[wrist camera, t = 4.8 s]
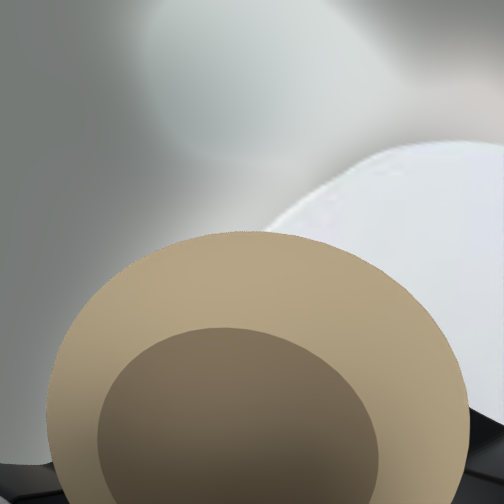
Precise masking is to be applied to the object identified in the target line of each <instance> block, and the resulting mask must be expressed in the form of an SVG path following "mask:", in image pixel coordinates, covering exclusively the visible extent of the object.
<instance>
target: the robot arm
mask: <svg viewBox="0 0 504 504" xmlns="http://www.w3.org/2000/svg"><path fill="white" fill-rule="evenodd" d="M469 414H470V433H469V447H468V453H467V458H466V463H465V467H464V472H463V475H462V477H461V480H460V483H459V486H458V488H457V491H456V493H455V496H454V498H453V500H452V502H451V504H504V425H502V424H500V423H498V422H496V421H494V420H492V419H490V418H488V417H486V416H484V415H482V414H481V413H479V412H477V411H475V410H473V409H471V408H470V407H469ZM0 504H70V503H69V501H68V499H67V497H66V495H65V493H64V491H63V489H62V486H61V484H60V482H59V479H58V476H57V473H56V470H55V467H54V464H53V462H50V463H48V464H43V465H16V464H2V463H0Z"/></svg>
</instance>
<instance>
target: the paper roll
mask: <svg viewBox="0 0 504 504" xmlns="http://www.w3.org/2000/svg"><path fill="white" fill-rule="evenodd" d="M46 418H47V434H48V441H49V446H50V452H51V456H52V461H53V464H54V467H55V470H56V473H57V476H58V479H59V482H60V484H61V486H62V489H63V491H64V493H65V495H66V497H67V499H68V501H69V503H70V504H451V502H452V500H453V498H454V496H455V493H456V491H457V488H458V486H459V483H460V480H461V477H462V475H463V472H464V467H465V463H466V458H467V453H468V447H469V433H470V414H469V405H468V398H467V391H466V387H465V383H464V380H463V377H462V373H461V370H460V367H459V364H458V361H457V359H456V357H455V355H454V353H453V351H452V349H451V347H450V345H449V343H448V341H447V339H446V337H445V335H444V334H443V332H442V331H441V330H440V328H439V327H438V325H437V324H436V322H435V321H434V320H433V318H432V317H431V316H430V314H429V313H428V311H427V310H426V309H425V308H424V307H423V306H422V305H421V304H420V303H419V302H418V301H417V300H416V299H415V298H414V297H413V296H412V295H411V294H410V293H409V292H408V291H407V290H406V289H405V288H404V287H402V286H401V285H400V284H399V283H397V282H396V281H395V280H393V279H392V278H391V277H389V276H388V275H387V274H385V273H384V272H383V271H381V270H380V269H378V268H376V267H375V266H373V265H371V264H369V263H367V262H366V261H364V260H362V259H360V258H359V257H357V256H355V255H353V254H350V253H348V252H346V251H343V250H341V249H338V248H336V247H333V246H331V245H328V244H326V243H322V242H318V241H314V240H310V239H307V238H303V237H299V236H295V235H287V234H279V233H272V232H228V233H219V234H211V235H205V236H201V237H197V238H193V239H189V240H185V241H181V242H178V243H175V244H173V245H170V246H168V247H165V248H162V249H160V250H157V251H155V252H153V253H151V254H149V255H147V256H145V257H143V258H142V259H140V260H138V261H136V262H134V263H132V264H131V265H130V266H128V267H127V268H125V269H124V270H123V271H121V272H120V273H118V274H117V275H115V276H114V277H113V278H112V279H111V280H109V281H108V282H107V283H106V284H105V285H104V286H103V287H102V288H101V289H100V290H99V291H97V292H96V293H95V294H94V296H93V297H92V298H91V299H90V300H89V302H88V303H87V304H86V305H85V306H84V308H83V309H82V310H81V311H80V313H79V314H78V316H77V317H76V319H75V320H74V322H73V323H72V325H71V327H70V328H69V330H68V332H67V334H66V336H65V338H64V340H63V343H62V344H61V347H60V349H59V351H58V354H57V357H56V360H55V363H54V366H53V369H52V373H51V378H50V383H49V388H48V396H47V411H46Z"/></svg>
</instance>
